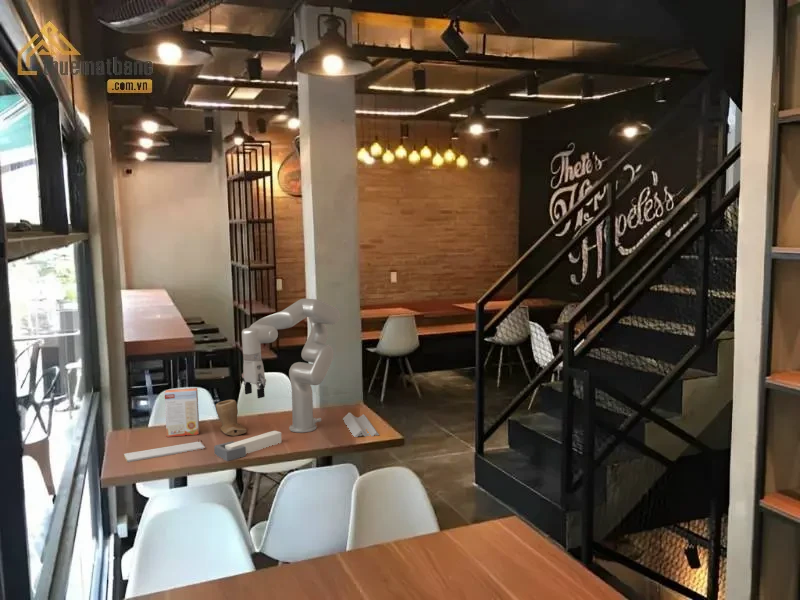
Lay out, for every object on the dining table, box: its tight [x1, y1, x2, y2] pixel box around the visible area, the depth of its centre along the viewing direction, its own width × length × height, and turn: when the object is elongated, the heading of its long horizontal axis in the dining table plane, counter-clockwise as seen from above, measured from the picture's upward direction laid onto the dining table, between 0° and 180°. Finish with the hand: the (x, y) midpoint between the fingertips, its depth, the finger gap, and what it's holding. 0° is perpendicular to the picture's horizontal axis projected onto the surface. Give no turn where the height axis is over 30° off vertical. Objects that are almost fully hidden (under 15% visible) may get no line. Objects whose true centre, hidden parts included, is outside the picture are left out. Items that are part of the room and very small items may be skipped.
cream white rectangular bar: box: [225, 430, 282, 455], centre depth 280 cm, size 26×4×5 cm, turn 140°
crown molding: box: [342, 412, 380, 438], centre depth 311 cm, size 31×12×4 cm, turn 14°
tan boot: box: [215, 399, 247, 437], centre depth 303 cm, size 15×12×15 cm
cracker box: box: [164, 387, 200, 438], centre depth 301 cm, size 14×6×21 cm, turn 103°
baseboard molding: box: [123, 439, 206, 463], centre depth 278 cm, size 31×3×12 cm
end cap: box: [213, 440, 247, 462], centre depth 272 cm, size 8×10×4 cm
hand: (254, 395), depth 284 cm, fingers open, 9 cm apart
